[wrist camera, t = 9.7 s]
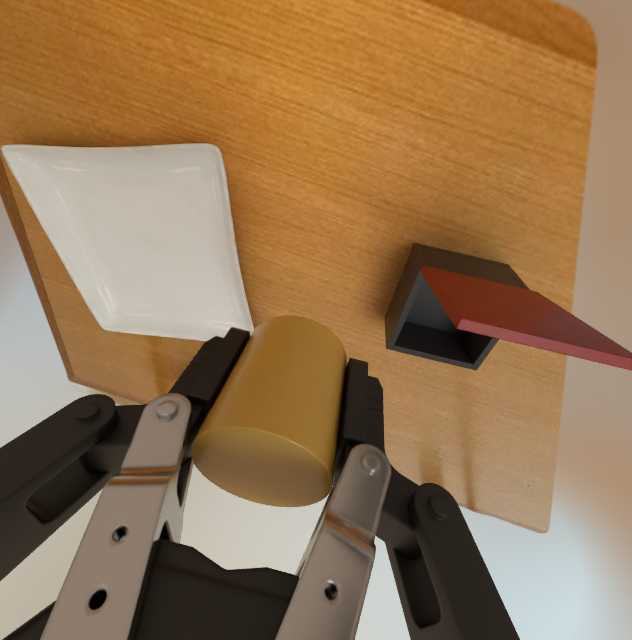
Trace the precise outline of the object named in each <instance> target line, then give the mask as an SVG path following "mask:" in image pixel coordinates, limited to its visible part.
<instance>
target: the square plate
mask: <svg viewBox="0 0 632 640" xmlns="http://www.w3.org/2000/svg"><path fill="white" fill-rule="evenodd" d="M1 152H2V155H3V157H4V159H5V160H6V162H7V164H8V166H9V168H10V169H11V171H12V173H13V175H14V177H15V178H16V180H17V182H18V184H19V186H20V187H21V189H22V191H23V193H24V195H25V196H26V198H27V200H28V202H29V204H30V206H31V207H32V209H33V211H34V213H35V215H36V216H37V218H38V220H39V222H40V224H41V225H42V227H43V229H44V231H45V233H46V234H47V236H48V238H49V239H50V241H51V243H52V245H53V246H54V248H55V250H56V252H57V253H58V255H59V257H60V259H61V261H62V262H63V264H64V266H65V268H66V269H67V271H68V273H69V274H70V276H71V278H72V280H73V281H74V283H75V285H76V287H77V288H78V290H79V292H80V294H81V295H82V297H83V299H84V301H85V302H86V304H87V306H88V307H89V309H90V311H91V312H92V314H93V316H94V317H95V319H96V320H97V322H98V324H99V325H100V327H101V328H102V329H104V330H106V331H113V332H122V333H132V334H142V335H151V336H161V337H171V338H180V339H190V340H200V341H208V340H210V339H211V338H213V337H215V336H219V337H223V338H224V337H225V335H226V334H227V332H228V331H229V329H230V328H231V327H235V328H239V329H242V330H246V331H250V336H251V335H252V333H253V331H254V326H253V322H252V318H251V315H250V310H249V307H248V302H247V299H246V294H245V289H244V285H243V281H242V276H241V271H240V265H239V259H238V253H237V247H236V241H235V234H234V227H233V220H232V212H231V205H230V198H229V191H228V184H227V177H226V172H225V167H224V162H223V158H222V154H221V152H220V150H219V148H218V147H217V146H215V145H213V144H205V143H186V144H168V145H151V146H132V147H62V146H43V145H24V144H10V145H4V146H2V147H1Z"/></svg>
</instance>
